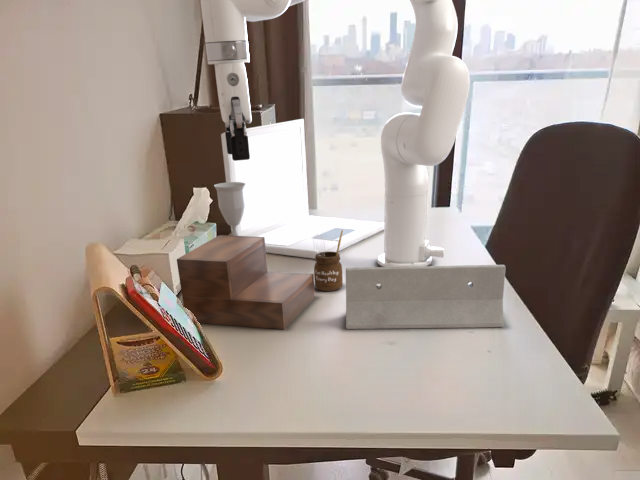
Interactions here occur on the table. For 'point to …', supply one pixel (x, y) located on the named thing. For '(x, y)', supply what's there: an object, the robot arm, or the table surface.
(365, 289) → the barrier
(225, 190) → the chalice
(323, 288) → the utensil holder
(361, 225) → the laptop
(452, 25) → the robot arm
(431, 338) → the table surface
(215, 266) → the step shelf
